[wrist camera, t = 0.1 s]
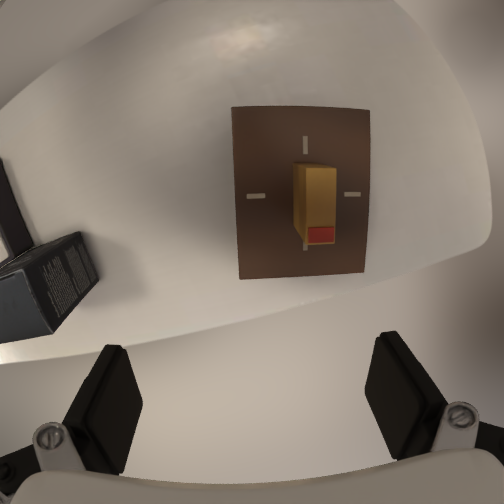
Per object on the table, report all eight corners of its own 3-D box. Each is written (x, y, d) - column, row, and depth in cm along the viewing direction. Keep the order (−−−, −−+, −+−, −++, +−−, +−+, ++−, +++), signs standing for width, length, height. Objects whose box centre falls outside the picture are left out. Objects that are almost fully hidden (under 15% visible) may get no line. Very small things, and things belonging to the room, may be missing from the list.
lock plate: (232, 111, 25) (231, 106, 22) (357, 112, 25) (370, 109, 22) (239, 266, 29) (239, 280, 26) (353, 260, 30) (364, 273, 27)
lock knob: (292, 162, 24) (306, 168, 19) (318, 162, 24) (338, 168, 19) (293, 225, 25) (306, 246, 20) (317, 224, 25) (335, 245, 20)
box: (48, 294, 30) (-4, 347, 20) (28, 248, 28) (-33, 290, 18) (102, 280, 29) (52, 338, 19) (82, 228, 28) (19, 270, 17)
